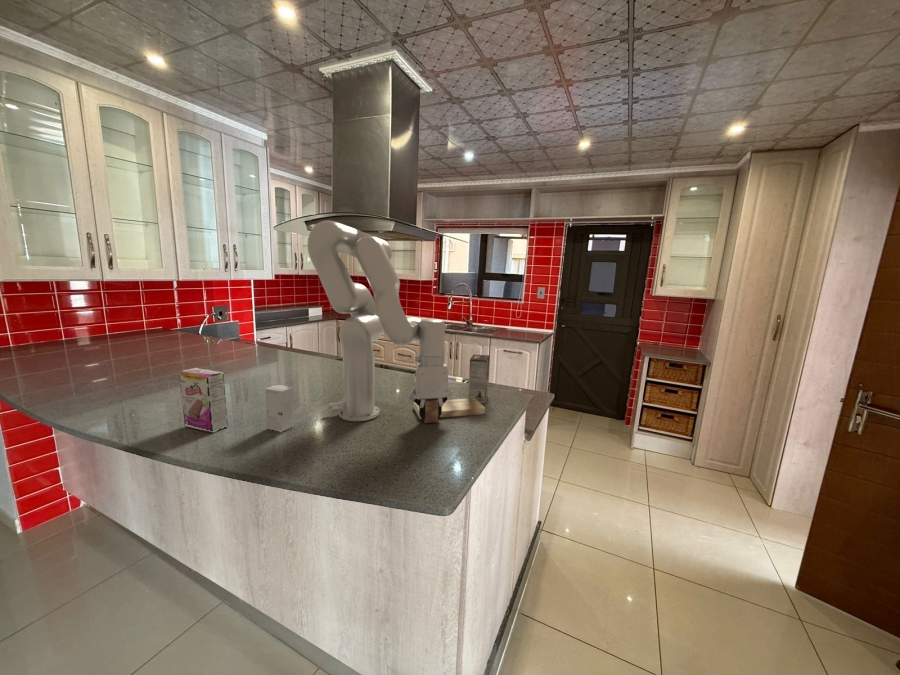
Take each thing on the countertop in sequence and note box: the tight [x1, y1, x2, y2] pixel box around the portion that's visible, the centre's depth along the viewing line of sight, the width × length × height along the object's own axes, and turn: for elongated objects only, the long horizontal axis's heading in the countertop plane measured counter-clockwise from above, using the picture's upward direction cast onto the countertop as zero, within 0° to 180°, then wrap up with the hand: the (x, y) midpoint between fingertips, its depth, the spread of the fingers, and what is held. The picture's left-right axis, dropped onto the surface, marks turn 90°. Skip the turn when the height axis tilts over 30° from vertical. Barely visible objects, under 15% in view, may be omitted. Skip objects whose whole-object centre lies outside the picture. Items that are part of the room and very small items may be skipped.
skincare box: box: [265, 384, 294, 431], centre depth 97 cm, size 6×4×12 cm
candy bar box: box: [178, 367, 229, 431], centre depth 96 cm, size 11×5×16 cm, turn 71°
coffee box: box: [467, 354, 490, 404], centre depth 127 cm, size 9×6×16 cm
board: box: [413, 397, 486, 420], centre depth 116 cm, size 22×10×2 cm, turn 107°
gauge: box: [423, 398, 439, 424], centre depth 110 cm, size 4×12×8 cm, turn 16°
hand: (430, 417), depth 106 cm, fingers closed on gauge, 4 cm apart
